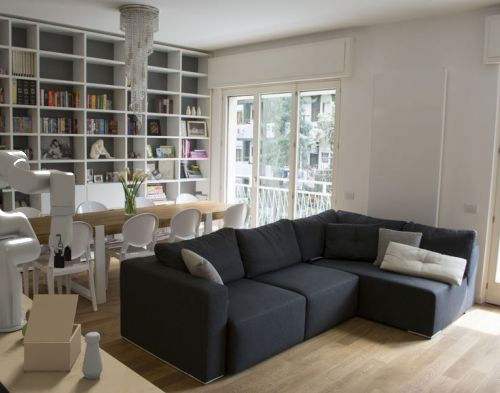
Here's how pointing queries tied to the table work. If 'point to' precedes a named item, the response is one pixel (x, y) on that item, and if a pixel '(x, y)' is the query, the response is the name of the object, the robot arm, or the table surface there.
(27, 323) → the snail figurine
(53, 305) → the flap
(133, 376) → the table surface
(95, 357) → the salt shaker
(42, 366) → the carton
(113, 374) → the table surface
